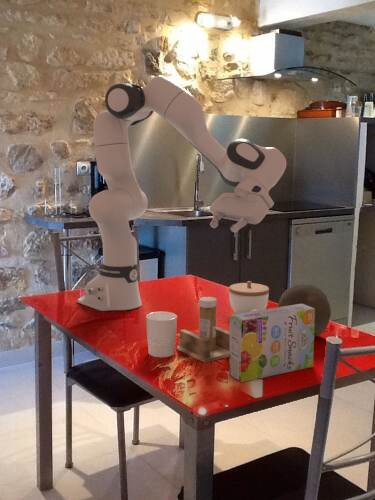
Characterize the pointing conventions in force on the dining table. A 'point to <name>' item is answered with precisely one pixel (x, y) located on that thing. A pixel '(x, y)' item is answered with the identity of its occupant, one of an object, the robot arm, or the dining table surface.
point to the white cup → (161, 333)
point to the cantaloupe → (309, 303)
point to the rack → (205, 345)
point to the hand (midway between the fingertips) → (222, 228)
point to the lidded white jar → (248, 297)
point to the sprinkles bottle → (208, 320)
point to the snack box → (271, 341)
